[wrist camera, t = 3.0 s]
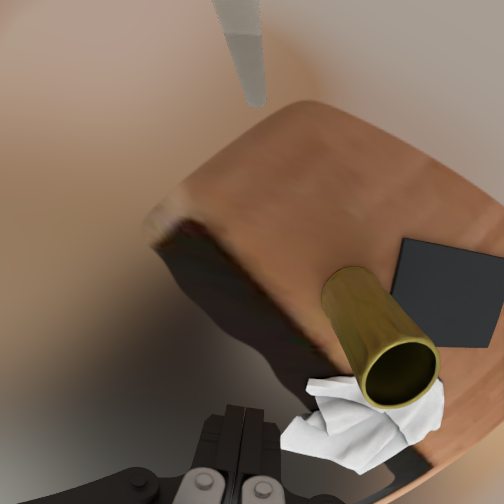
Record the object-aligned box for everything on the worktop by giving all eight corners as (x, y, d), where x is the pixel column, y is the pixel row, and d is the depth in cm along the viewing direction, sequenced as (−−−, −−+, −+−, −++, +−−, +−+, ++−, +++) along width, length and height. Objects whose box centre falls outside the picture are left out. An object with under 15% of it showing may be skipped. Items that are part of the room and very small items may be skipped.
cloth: (455, 419, 33) (462, 429, 30) (320, 490, 36) (321, 502, 34) (413, 314, 30) (422, 323, 28) (240, 411, 34) (238, 424, 31)
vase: (382, 318, 30) (442, 400, 16) (324, 330, 31) (355, 425, 17) (378, 260, 29) (450, 318, 15) (316, 272, 30) (350, 344, 16)
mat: (402, 237, 29) (405, 238, 28) (511, 259, 28) (514, 261, 27) (376, 340, 31) (378, 343, 30) (485, 345, 30) (487, 347, 30)
